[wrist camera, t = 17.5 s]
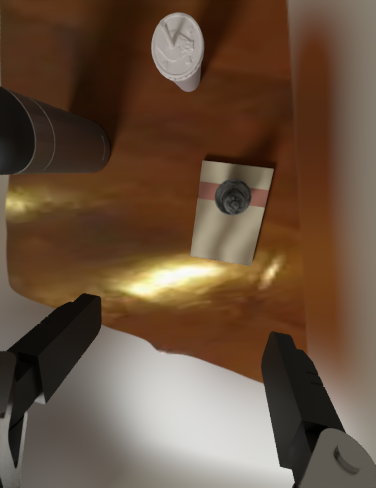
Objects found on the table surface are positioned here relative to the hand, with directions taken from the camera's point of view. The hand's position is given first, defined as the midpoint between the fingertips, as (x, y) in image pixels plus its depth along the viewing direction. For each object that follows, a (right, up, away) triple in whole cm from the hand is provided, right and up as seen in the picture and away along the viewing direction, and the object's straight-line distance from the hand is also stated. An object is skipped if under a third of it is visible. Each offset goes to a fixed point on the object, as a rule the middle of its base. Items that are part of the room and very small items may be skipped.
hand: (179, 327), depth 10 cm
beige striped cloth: (+8, +9, +31) cm, 33 cm away
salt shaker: (+8, +13, +28) cm, 32 cm away
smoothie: (+1, +31, +25) cm, 39 cm away
